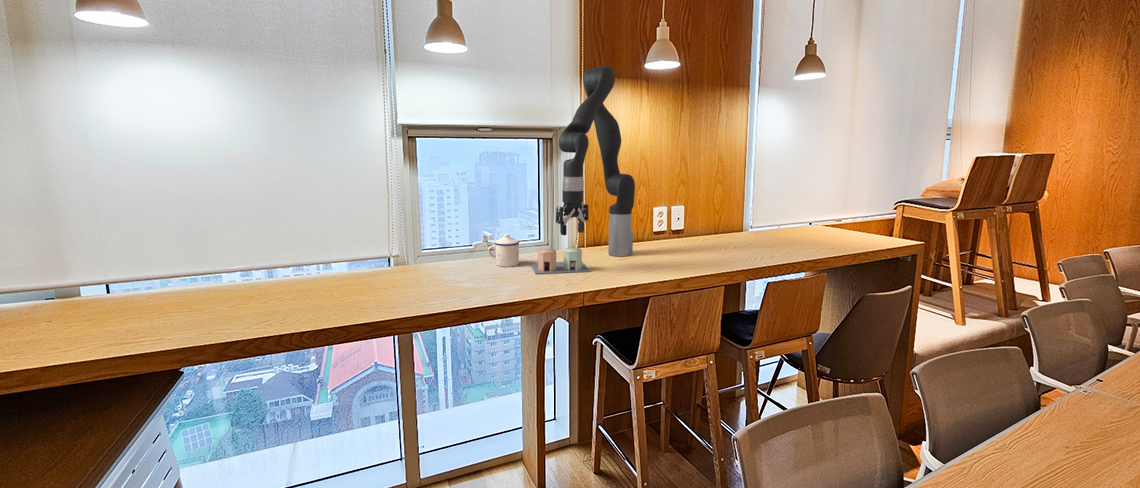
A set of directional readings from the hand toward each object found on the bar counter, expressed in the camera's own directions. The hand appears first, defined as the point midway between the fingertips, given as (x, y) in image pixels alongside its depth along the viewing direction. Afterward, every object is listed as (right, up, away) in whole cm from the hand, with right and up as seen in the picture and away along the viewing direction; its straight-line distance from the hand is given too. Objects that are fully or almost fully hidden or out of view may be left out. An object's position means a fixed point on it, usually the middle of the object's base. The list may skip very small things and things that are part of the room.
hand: (572, 233), depth 199 cm
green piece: (0, -13, +2) cm, 13 cm away
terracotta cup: (-9, -13, +1) cm, 16 cm away
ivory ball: (0, -13, +2) cm, 13 cm away
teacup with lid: (-26, -12, +10) cm, 30 cm away
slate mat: (-5, -13, +5) cm, 14 cm away
